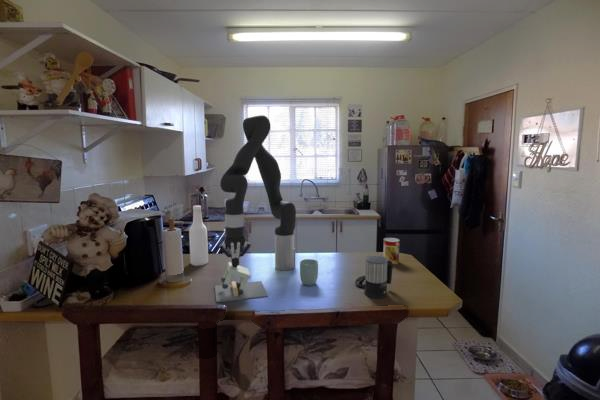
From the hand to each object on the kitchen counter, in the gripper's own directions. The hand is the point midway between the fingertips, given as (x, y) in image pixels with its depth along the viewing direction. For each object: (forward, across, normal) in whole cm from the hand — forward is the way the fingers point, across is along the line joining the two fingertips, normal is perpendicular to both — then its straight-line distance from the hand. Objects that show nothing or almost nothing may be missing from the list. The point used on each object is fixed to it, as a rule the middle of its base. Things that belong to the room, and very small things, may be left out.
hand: (235, 266), depth 141 cm
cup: (+11, -32, 0) cm, 33 cm away
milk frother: (+11, -54, +13) cm, 57 cm away
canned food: (+10, -82, -18) cm, 84 cm away
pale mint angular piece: (+5, 0, 0) cm, 5 cm away
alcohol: (+11, +14, -42) cm, 46 cm away
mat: (+11, -2, 0) cm, 11 cm away
